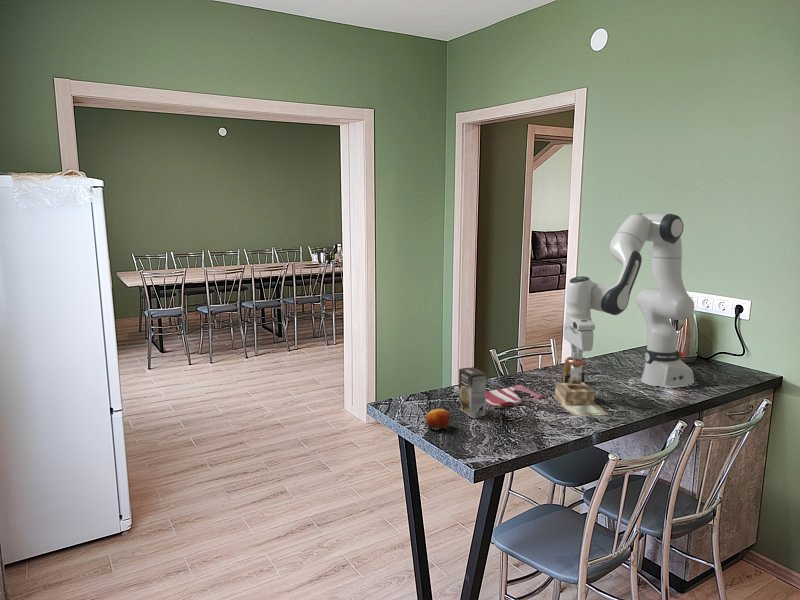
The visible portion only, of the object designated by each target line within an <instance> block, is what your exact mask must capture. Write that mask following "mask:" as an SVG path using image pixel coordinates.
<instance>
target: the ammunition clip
mask: <svg viewBox="0 0 800 600" xmlns="http://www.w3.org/2000/svg"><path fill="white" fill-rule="evenodd" d="M582 357H583V355H582ZM583 358H584V357H583ZM584 368H585V364H583V365H582V375H581V382H584V383H585V372H584ZM570 373H571V364H569V363H567V358H565V359H564V363H563V370H562V376H561V383H570Z"/></svg>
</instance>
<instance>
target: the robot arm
mask: <svg viewBox="0 0 800 600" xmlns="http://www.w3.org/2000/svg"><path fill="white" fill-rule="evenodd" d="M683 232H684V221H683V220H682V218H681V217H680V216H679V215H677V214H675V213H664V212H653V213H652V212H651V213H635V214H631V215H629V216H628V217H626V219H625V220H624V221H623V223H622V224H621V225H620V227H618V229H617V231H616V232H615V234H614V235H613V237H612V239H611V242H610V244H609V251H610V254H611V256H612V257H613V258H614V260H616V261H617V262H618V263H619V264H622V266H623V267H622V269H621V272H620V273H619V274H620V275H619V278H618V279H617V281H616V283H615V284H614V285H612V286H610V285H604V284H599V283H597V282H594V281H593V280H591V278H590V277H588V276H582V275H581V276H575V277H572V278H571V279H569V281H568V283H567V288H566V300H565V301H566V307H567V308H566V309H565V321H564V325H563V338H564V340H565V341H566V342H568V343H570V349H571V350H577V353H576V358H577V359H581V358H582V356H583V353H584V352H591V351H592V349H593V346H594V337H595V336H594V331H595V330H596V324H595V323H594V321H593V319H592V317H591V315H592V312H591V311H592V310H595V311H598V312H603V313H605V314H608V315H612V316H618V315H620V314H622V313H623V312H624V311H625V310H626V309H627V307H628V305H629V301H630V295H631V292H632V290H633V288H634V284H635V282H636V281H637V280H636V279H637V277H638V274H639V271H640V269H641V265H642V255H641V250H642V248H643V246H644V245H645V243H646V242H652V243H653V244H652V251H651V268H650V269H651V270H650V271H651V277H652V279H653V280H654V281H655V282H656V283H657V285H658V288H654V287H653V288H644V289H642V290H641V291H640V292H639V293H638V295H637V297H636V305H637V307H638V308H639V310H640V311H641V312H642V314H643V317H644V319H645V323H646V327H647V328H646V330H647V343H646V348H645V354H644V362H645V363H644V367H643V372H642V375H641V378H640V381H641V383H643V384H645V385H648V386H652V387H656V386H660V387H659V388H662V387H665V388H664V389H666V388H677V387H684V386H689V385H692V383H694V379H695V377H694V372H693V369H692V368H691V367H690V366H688V365H687V364H686V363H685V362H683V361H682V359H683V358H685V357H686V353H684V352H682V351H678V350H677V341H678V340H677V339H678V332H677V330H676V328H675V327H674V326H673V325H672V323H671V320H673V321H677V320H678V321H683V320H685V321H686V320H688V319H689V318H691V316H692V315H693V314H694V312H695V301H694V300H693V298H691V297H690V295H689V294H688V292H687V290H686V288H685V285H684V281H683V277H682V264H683V263H682V262H683V260H682V259H683V258H682V257H683V247H682V246H683V245H682V244H683V243H682V238H681V236H682V234H683ZM680 358H682V359H680ZM688 384H689V385H688Z"/></svg>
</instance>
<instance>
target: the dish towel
mask: <svg viewBox="0 0 800 600" xmlns="http://www.w3.org/2000/svg"><path fill="white" fill-rule="evenodd" d="M515 391H520V392H525V393H528V394H530V395H531V396H533V398H528V399H527V398H526V399H521V398H520V397H519V395H518V394H517V393H516V392H515ZM544 398H545V396H544V395H542V394H539V393H537V392H534V391H532V390H530V389H529V388H527V387H526V386H524V385H521V384H516V385H514V386H510V387H506V388H501V389H500V388H499V389H494V390H486V404H488V405H490V406H492V407H494V408H501V409H503V408H502V407H506V406H513V405H516V406H518V405H517V404H522V403H524V402H528V401H529V402H530V401H536V400H540V399H544ZM522 405H523V404H522ZM513 407H514V406H513Z"/></svg>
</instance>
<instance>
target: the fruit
mask: <svg viewBox="0 0 800 600" xmlns="http://www.w3.org/2000/svg"><path fill="white" fill-rule="evenodd" d="M450 418H451V416H450V412H449V411H448V410H446V409H445V408H434V409H431V410H430V411H429V412H427V414H426V415H425V419H426V420H425V421H426V425H427V426H430V427H431V428H436V429H438V428H446V429H447V427H448V425H449V424H450ZM431 428H430V429H431Z"/></svg>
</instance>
